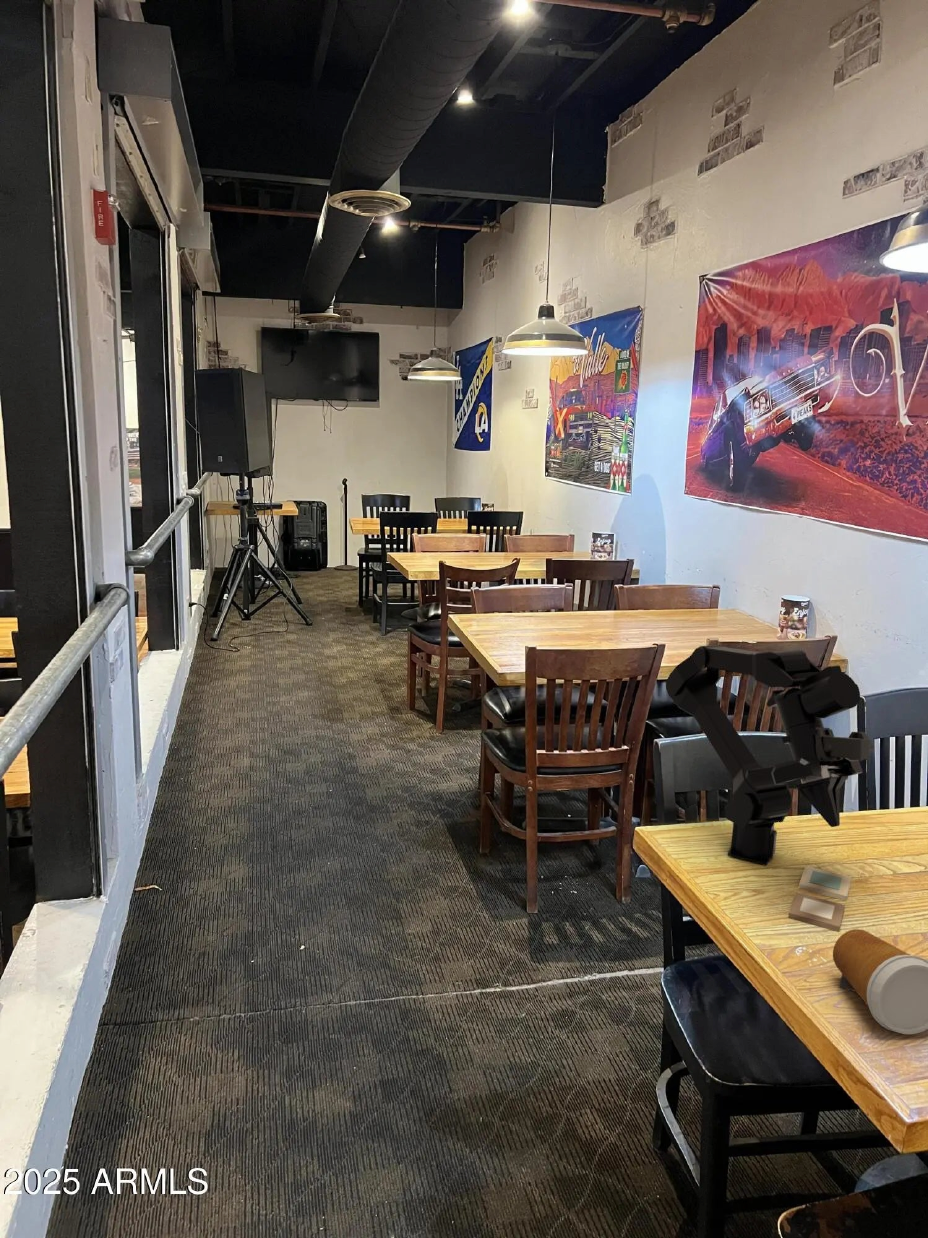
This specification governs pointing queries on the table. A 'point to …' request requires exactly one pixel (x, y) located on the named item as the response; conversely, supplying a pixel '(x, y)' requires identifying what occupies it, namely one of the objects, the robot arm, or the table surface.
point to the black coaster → (846, 984)
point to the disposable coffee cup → (885, 980)
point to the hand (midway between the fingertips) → (835, 826)
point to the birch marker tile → (825, 883)
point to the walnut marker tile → (817, 911)
